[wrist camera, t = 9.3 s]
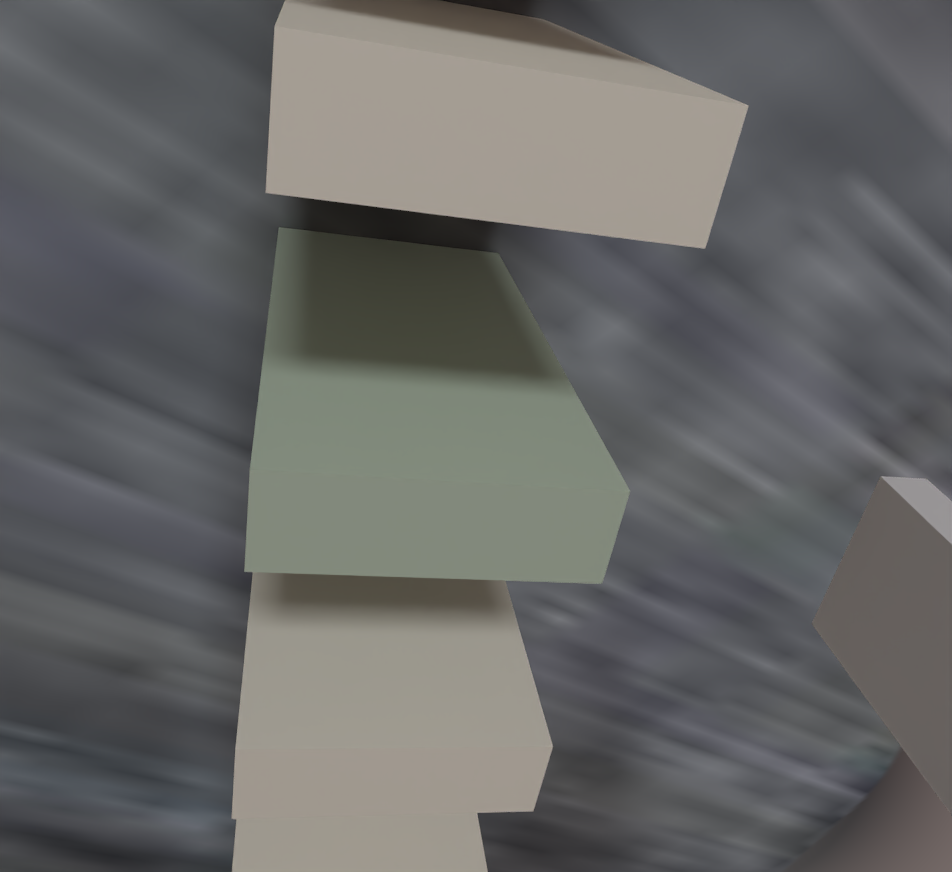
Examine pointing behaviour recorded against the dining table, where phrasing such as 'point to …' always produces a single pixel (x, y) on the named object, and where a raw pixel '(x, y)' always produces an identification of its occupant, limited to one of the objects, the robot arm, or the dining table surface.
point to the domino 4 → (360, 844)
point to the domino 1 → (491, 121)
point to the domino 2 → (419, 424)
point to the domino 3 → (385, 700)
